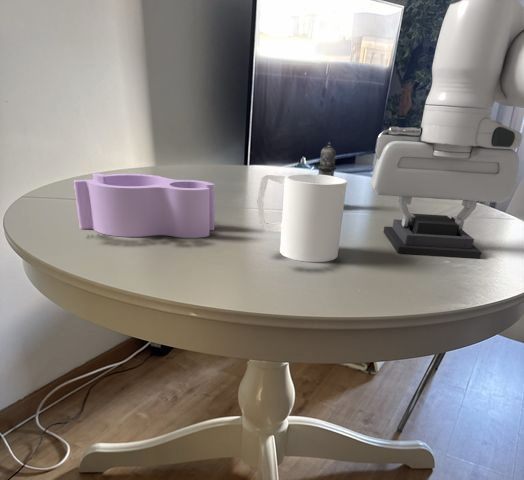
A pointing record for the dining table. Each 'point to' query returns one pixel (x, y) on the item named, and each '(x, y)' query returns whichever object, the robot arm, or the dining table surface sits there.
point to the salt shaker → (327, 161)
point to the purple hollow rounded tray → (145, 205)
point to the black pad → (434, 225)
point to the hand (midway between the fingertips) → (431, 228)
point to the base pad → (430, 242)
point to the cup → (307, 215)
